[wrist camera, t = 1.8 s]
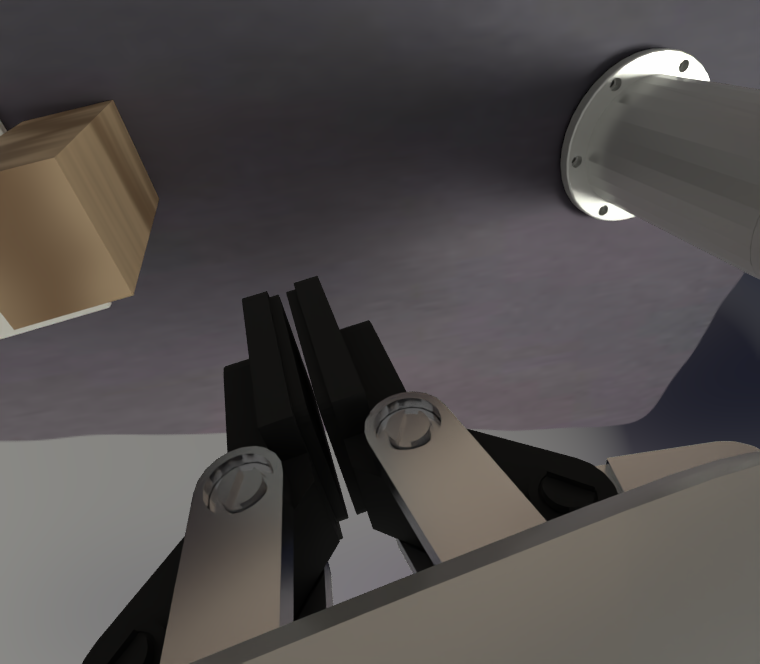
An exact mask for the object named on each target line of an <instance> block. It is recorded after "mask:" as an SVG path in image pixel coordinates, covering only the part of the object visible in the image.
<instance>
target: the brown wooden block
mask: <svg viewBox="0 0 760 664" xmlns="http://www.w3.org/2000/svg"><path fill="white" fill-rule="evenodd" d="M158 201H159V197H158V195H157V193H156V191H155V189H154V187H153V185H152V182H151V180H150V178H149V176H148V174H147V172H146V170H145V167H144V165H143V163H142V161H141V159H140V157H139V155H138V152H137V150H136V148H135V146H134V144H133V142H132V140H131V137H130V135H129V133H128V131H127V129H126V127H125V125H124V123H123V120H122V118H121V116H120V114H119V112H118V110H117V108H116V105H115V103H114V101H113V100H110V101H105V102H101V103H97V104H93V105H89V106H85V107H81V108H77V109H73V110H68V111H64V112H60V113H56V114H52V115H48V116H44V117H40V118H36V119H31V120H27V121H23V122H21V123H20V124H18V125H17V126H15V127H13V128H12V129H10V130H9V131H7V132H6V133H4V134H2V135H1V136H0V313H1V314H2V315H3V316H4V318H5V319H6V320H7V322H8V323H9V324H10V325H11V327H12V328H13V329H14V330H16V329H19V328H23V327H26V326H30V325H33V324H37V323H40V322H43V321H47V320H50V319H54V318H57V317H61V316H64V315H67V314H71V313H74V312H78V311H81V310H85V309H88V308H91V307H95V306H98V305H102V304H105V303H109V302H112V301H115V300H119V299H122V298H126V297H129V296H133V295H134V291H135V287H136V283H137V280H138V276H139V272H140V269H141V265H142V261H143V257H144V254H145V250H146V246H147V242H148V239H149V235H150V231H151V228H152V224H153V220H154V216H155V213H156V209H157V205H158Z"/></svg>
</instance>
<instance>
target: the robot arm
mask: <svg viewBox="0 0 760 664" xmlns="http://www.w3.org/2000/svg"><path fill="white" fill-rule="evenodd" d="M561 176H562V182H563V185H564V188H565V191H566V193H567V195H568V197H569V198H570V200H571V202H572V203H573V204H574V205H575V206H576V207H577V208H578V209H579V210H581V211H583V212H584V213H586V214H587V215H589V216H591V217H593V218H596V219H598V220H605V221H619V220H625V219H628V218H632V217H635V216H636V217H638V218H640V219H642V220H644V221H646V222H648V223H650V224H652V225H654V226H656V227H658V228H660V229H662V230H664V231H666V232H668V233H670V234H672V235H673V236H675V237H677V238H679V239H681V240H683V241H685V242H687V243H689V244H691V245H693V246H695V247H697V248H699V249H701V250H703V251H705V252H707V253H709V254H711V255H713V256H715V257H717V258H719V259H721V260H722V261H724V262H726V263H728V264H730V265H732V266H734V267H736V268H738V269H740V270H742V271H744V272H746V273H748V274H750V275H752V276H754V277H756V278H758V279H760V89H754V88H747V87H741V86H735V85H729V84H723V83H717V82H710V80H709V76H708V74H707V72H706V71H705V69H704V67H703V66H702V64H701V63H700V62H699V61H698V60H697V59H696V58H694V57H693V56H692V55H690V54H688V53H686V52H683V51H681V50H675V49H668V48H652V49H648V50H644V51H640V52H637V53H635V54H633V55H631V56H629V57H627V58H625V59H623V60H621V61H620V62H618V63H617V64H615V65H614V66H613V67H611V68H610V69H609V70H607V71H606V72H605V73H604V74H603V75H602V76H601V77H600V78H599V79H598V80H597V81H596V82H595V83H594V84H593V85H592V87H591V88H590V89H589V91H588V92H587V93H586V95H585V96H584V97H583V99H582V100H581V102H580V104H579V105H578V107H577V109H576V111H575V113H574V114H573V116H572V119H571V121H570V124H569V126H568V129H567V131H566V134H565V138H564V142H563V147H562V153H561ZM294 286H295V290H292V291H289V292H286V294H287V297H288V301H289V305H290V308H291V312H292V315H293V319H294V323H295V326H296V330H297V333H298V337H299V340H300V344H301V348H302V351H303V355H304V358H305V362H306V366H307V369H308V373H309V376H310V380H311V383H310V380H309V378H308V375H307V372H306V369H305V366H304V364H303V361H302V358H301V355H300V352H299V350H298V347H297V344H296V341H295V339H294V336H293V333H292V330H291V327H290V325H289V322H288V319H287V316H286V313H285V311H284V308H283V305H282V302H281V300H280V297H279V295H276V296H272V297H269V295H268V292H267V291H266V292H263V293H260V294H256V295H253V296H250V297H247V298H243V299H242V304H243V312H244V320H245V328H246V336H247V344H248V352H249V359H247V360H244V361H241V362H238V363H235V364H231V365H228V366H225V367H224V392H225V412H226V432H227V450H228V453H227V454H225V455H223V456H221V457H220V458H218V459H217V460H216V461H215V462H213V463H212V464H211V465H210V466H209V467H208V468H207V469H206V470H205V471H204V473H203V474H202V476H201V477H200V478H199V480H198V482H197V484H196V487H195V490H194V493H193V497H192V503H191V508H190V514H189V518H188V523H187V528H186V533H185V537H184V538H183V539H182V540H181V541H180V542H179V544H178V545H177V546H176V547H175V548H174V550H173V551H172V552H171V553H170V554H169V556H168V557H167V558H166V559H165V561H164V562H163V563H162V564H161V565H160V566H159V568H158V569H157V570H156V571H155V572H154V574H153V575H152V576H151V577H150V578H149V580H148V581H147V582H146V583H145V584H144V585H143V587H142V588H141V589H140V590H139V592H138V593H137V594H136V595H135V596H134V598H133V599H132V600H131V601H130V602H129V603H128V605H127V606H126V607H125V608H124V609H123V611H122V612H121V613H120V614H119V615H118V617H117V618H116V619H115V620H114V622H113V623H112V624H111V625H110V626H109V627H108V629H107V630H106V631H105V632H104V633H103V635H102V636H101V637H100V638H99V639H98V641H97V642H96V643H95V645H94V646H93V648H92V649H91V650H90V652H89V653H88V655H87V656H86V658H85V659H84V661H83V663H82V664H760V449H758V448H756V447H754V446H751V445H747V444H743V443H739V442H735V441H717V442H711V443H704V444H697V445H690V446H684V447H678V448H670V449H664V450H657V451H650V452H644V453H637V454H631V455H624V456H617V457H610V458H607V460H606V465H599V466H594V465H592V464H590V463H588V462H585V461H583V460H580V459H577V458H574V457H570V456H567V455H563V454H559V453H555V452H552V451H548V450H544V449H541V448H537V447H533V446H529V445H525V444H522V443H518V442H514V441H511V440H507V439H503V438H500V437H496V436H492V435H488V434H485V433H481V432H477V431H473V430H470V429H466V428H465V427H464V426H463V425H462V423H461V422H460V421H459V420H458V419H457V418H456V417H455V415H454V414H453V413H452V412H451V411H450V410H449V409H448V407H447V406H446V405H445V404H444V403H443V402H441V401H440V400H439V399H438V398H436V397H434V396H432V395H429V394H427V393H422V392H413V391H412V392H406V390H405V388H404V386H403V384H402V382H401V380H400V378H399V376H398V374H397V372H396V371H395V369H394V367H393V365H392V363H391V361H390V359H389V357H388V355H387V353H386V351H385V349H384V347H383V345H382V343H381V341H380V339H379V337H378V336H377V334H376V332H375V330H374V328H373V326H372V324H371V322H370V321H369V320H368V321H365V322H362V323H359V324H356V325H352V326H349V327H346V328H343V329H340V330H339V327H338V325H337V322H336V320H335V318H334V315H333V313H332V310H331V308H330V305H329V303H328V300H327V298H326V296H325V293H324V291H323V288H322V286H321V283H320V281H319V278H318V276H315V277H312V278H309V279H305V280H302V281H299V282H296V283H294ZM311 384H312V386H311ZM312 387H313V389H312ZM313 391H314V392H313ZM314 394H315V395H314ZM316 401H317V402H316ZM317 404H318V406H317ZM318 407H319V409H318ZM319 411H320V413H319ZM320 414H321V416H320ZM321 417H322V419H323V422H324V425H325V428H326V431H327V433H328V436H329V439H330V442H331V444H332V447H333V450H334V453H335V456H336V458H337V461H338V464H339V467H340V469H341V472H342V475H343V478H344V480H345V483H346V486H347V488H348V491H349V494H350V497H351V500H352V502H353V505H354V508H355V511H356V513H357V515H358V514H360V513H363V512H366V511H367V512H368V515H369V518H370V521H371V524H372V527H373V529H375V530H377V531H380V532H382V533H385V534H387V535H389V536H392V537H394V538H396V541H397V544H398V547H399V549H400V551H401V552H402V554H403V556H404V558H405V560H406V562H407V563H408V565H409V567H410V569H411V571H412V573H413V574H412V575H410V576H407V577H405V578H402V579H400V580H397V581H395V582H392V583H389V584H387V585H384V586H382V587H379V588H377V589H374V590H372V591H369V592H367V593H364V594H362V595H359V596H357V597H354V598H352V599H349V600H347V601H344V602H342V603H339V604H337V605H334V606H333V594H332V579H331V578H332V577H331V570H330V566H329V562H328V560H329V559H330V557H331V555H332V554H333V552H334V550H335V549H336V547H337V545H338V543H339V542H340V541H339V540H340V539H342V538H343V536H342V532H341V528H340V524H339V521H342V520H344V519H347V518H348V514H347V510H346V506H345V503H344V500H343V495H342V492H341V488H340V485H339V482H338V478H337V474H336V470H335V467H334V463H333V460H332V456H331V452H330V449H329V445H328V442H327V438H326V435H325V431H324V427H323V424H322V420H321Z"/></svg>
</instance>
